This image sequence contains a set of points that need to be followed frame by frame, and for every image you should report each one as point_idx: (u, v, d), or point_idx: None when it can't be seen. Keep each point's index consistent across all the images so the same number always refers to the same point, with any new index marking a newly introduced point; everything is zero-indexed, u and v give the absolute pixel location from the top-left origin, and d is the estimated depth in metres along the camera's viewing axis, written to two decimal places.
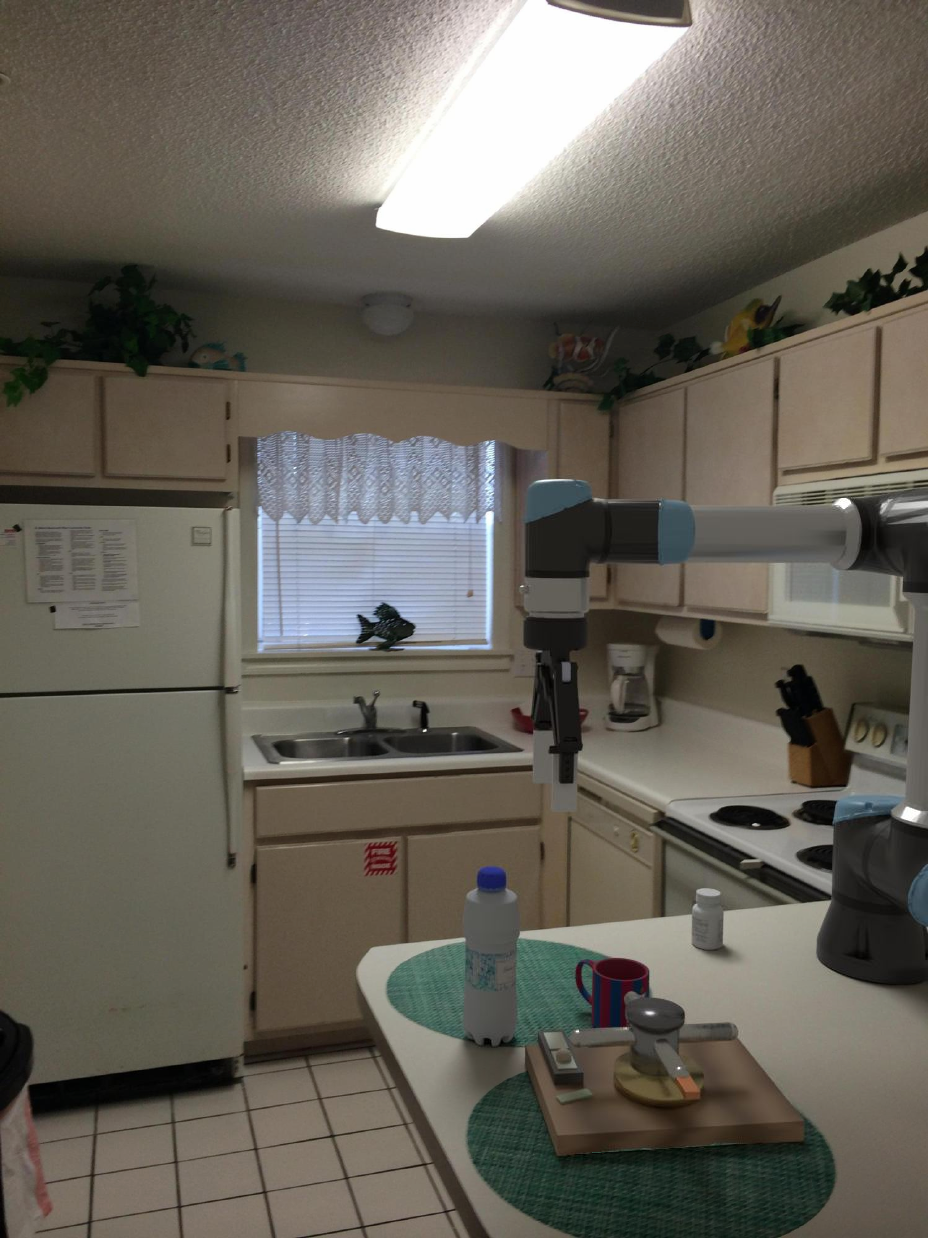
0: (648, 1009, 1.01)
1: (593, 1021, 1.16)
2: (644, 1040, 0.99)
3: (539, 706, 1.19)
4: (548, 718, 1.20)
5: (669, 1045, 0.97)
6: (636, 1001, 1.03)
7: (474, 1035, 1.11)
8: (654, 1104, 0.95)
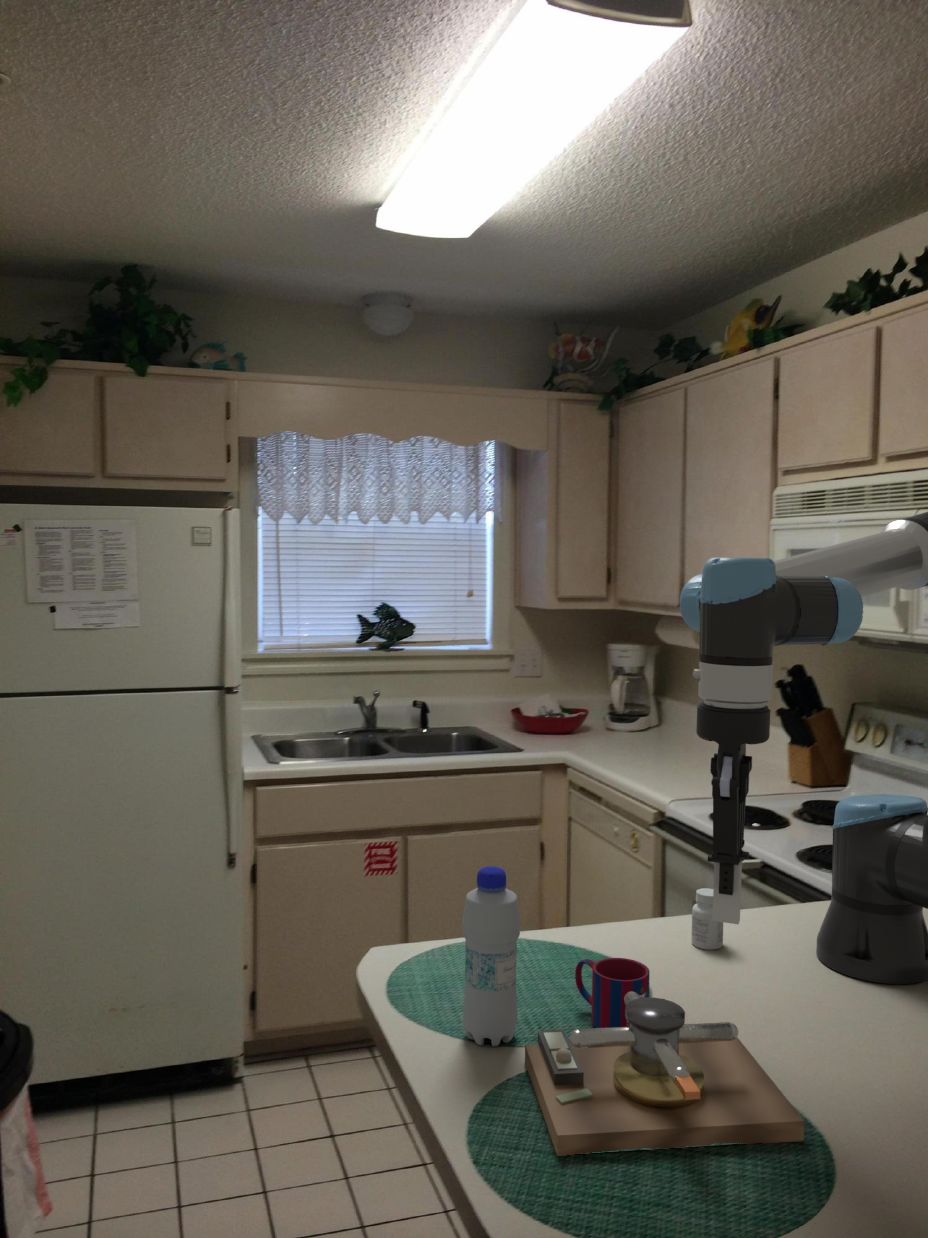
0: (648, 1009, 1.01)
1: (593, 1021, 1.16)
2: (644, 1040, 0.99)
3: None
4: None
5: (669, 1045, 0.97)
6: (636, 1001, 1.03)
7: (474, 1035, 1.11)
8: (654, 1104, 0.95)
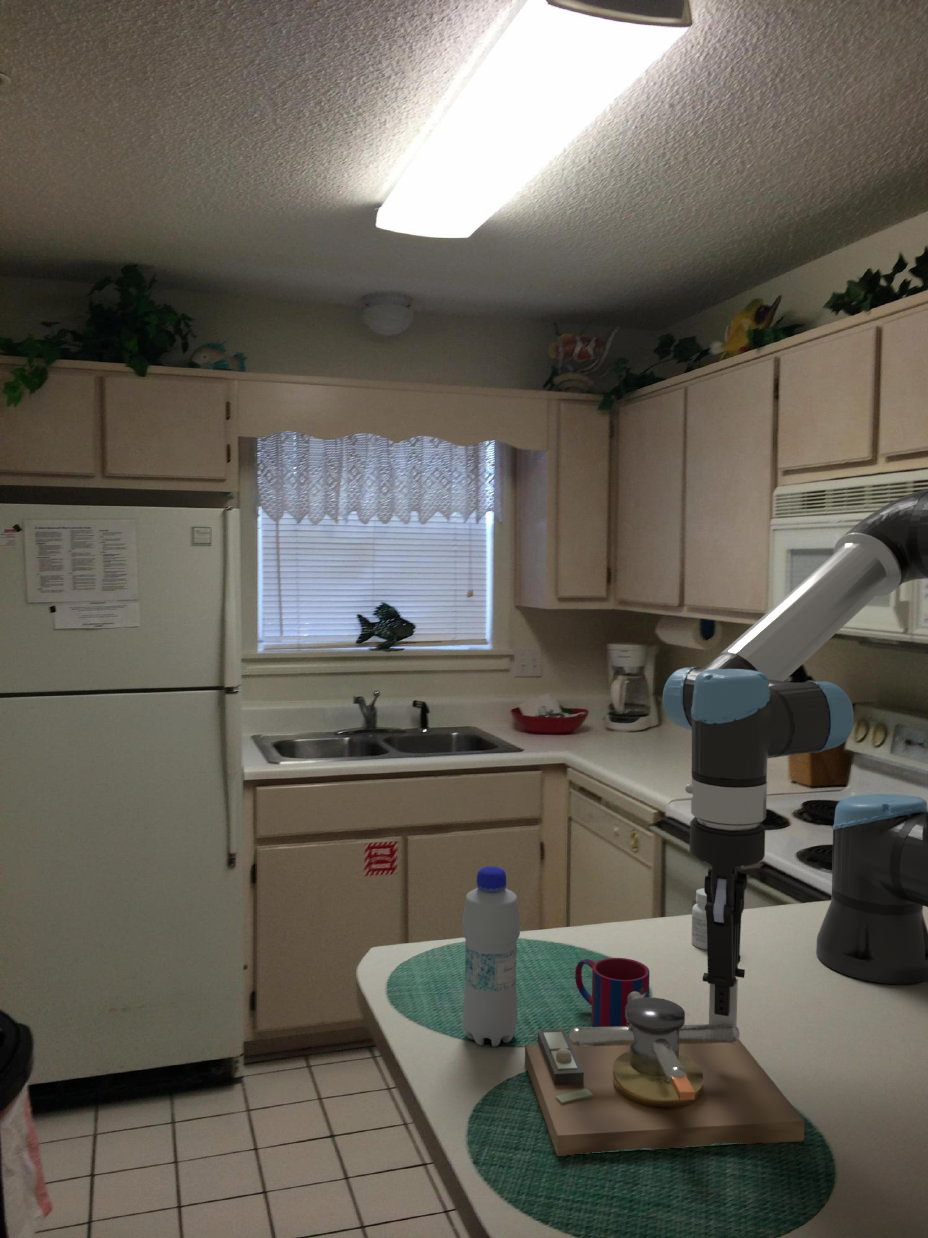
0: (648, 1009, 1.01)
1: (593, 1021, 1.16)
2: (643, 1040, 0.99)
3: None
4: None
5: (667, 1045, 0.97)
6: (637, 1001, 1.03)
7: (474, 1035, 1.11)
8: (651, 1104, 0.95)
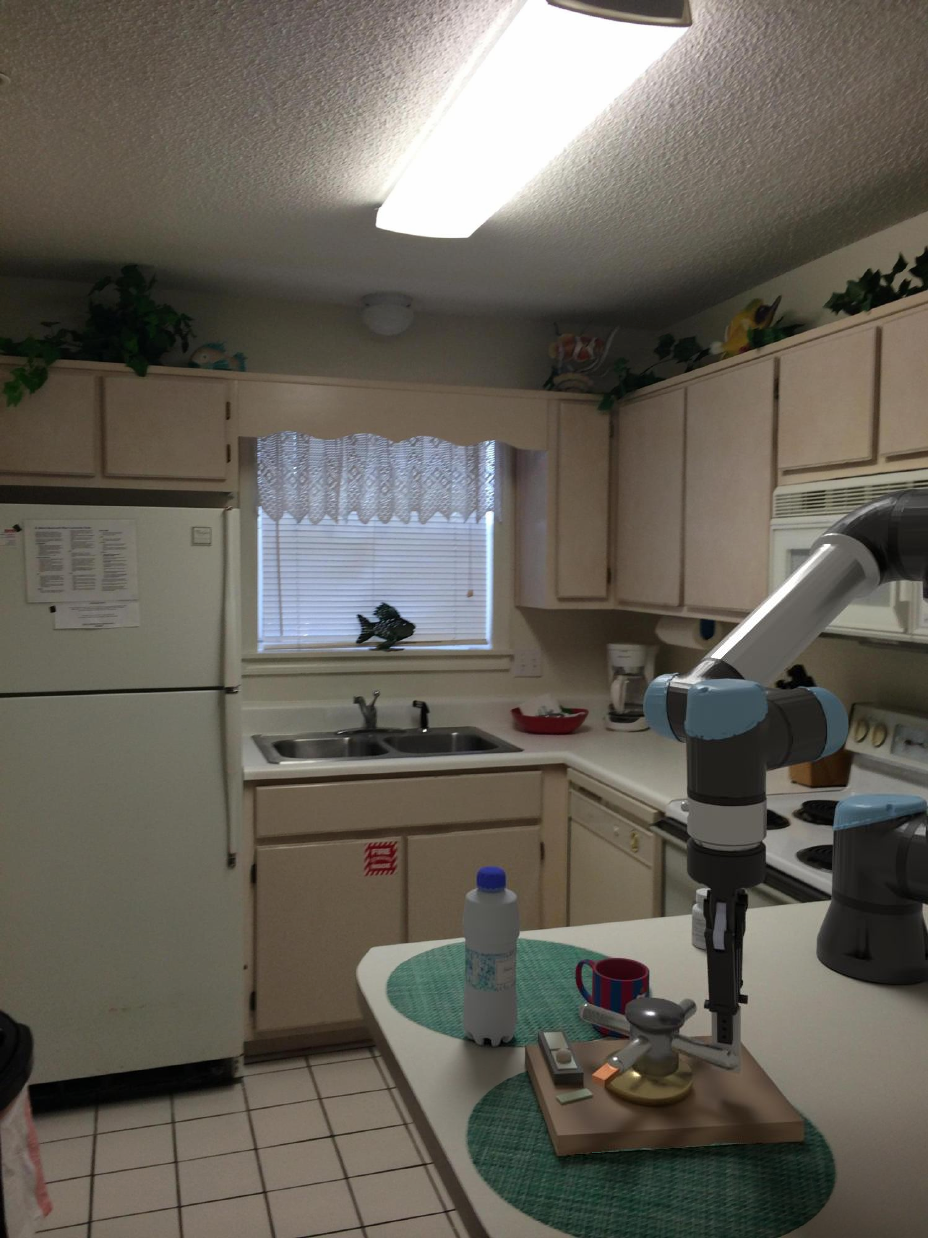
0: (651, 1007, 1.01)
1: None
2: (631, 1033, 1.00)
3: None
4: None
5: (639, 1042, 0.98)
6: (653, 999, 1.03)
7: (474, 1035, 1.11)
8: (611, 1090, 0.98)
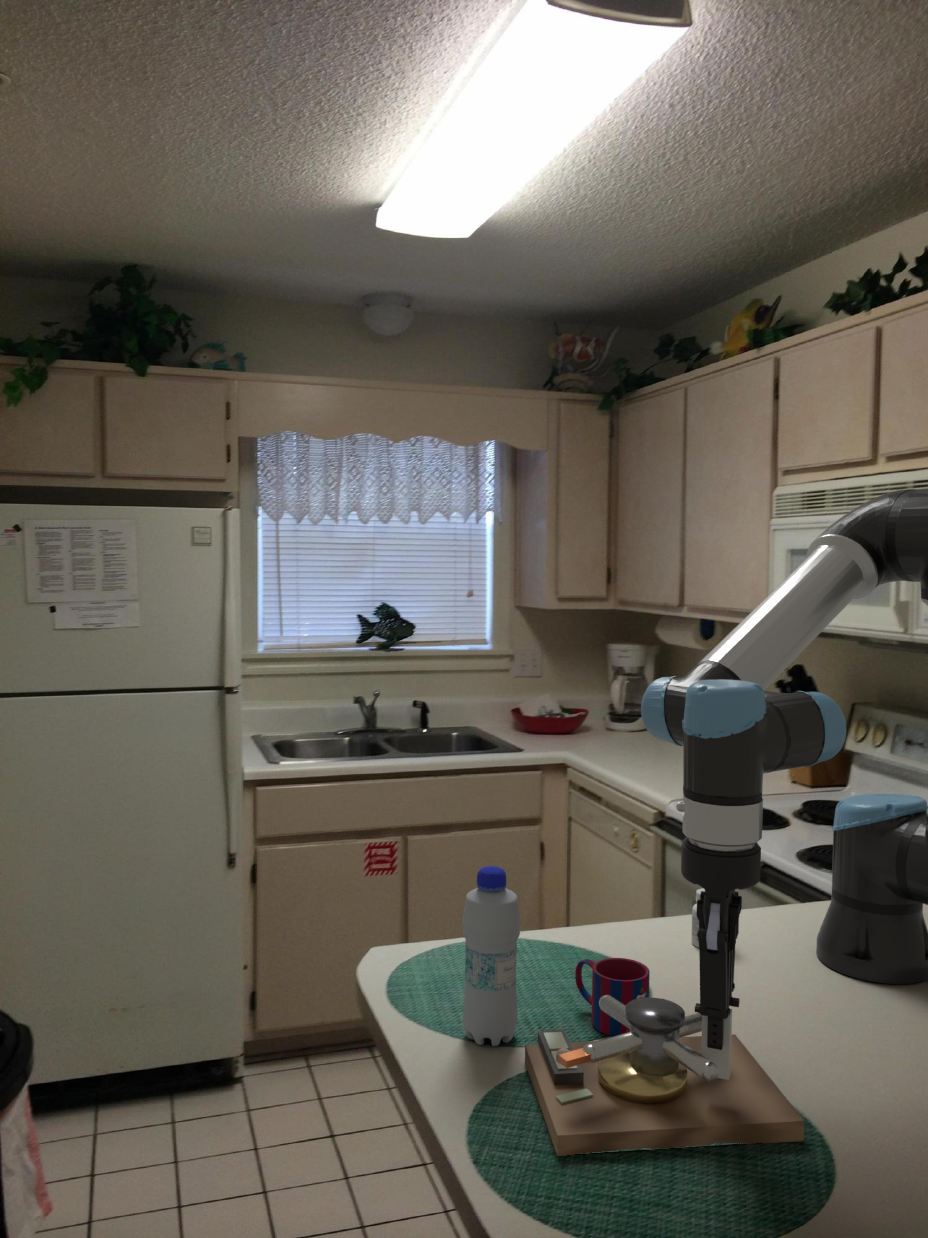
0: (653, 1007, 1.01)
1: (593, 1021, 1.16)
2: None
3: None
4: None
5: (626, 1036, 0.99)
6: (662, 1001, 1.03)
7: (474, 1035, 1.11)
8: (599, 1078, 1.00)
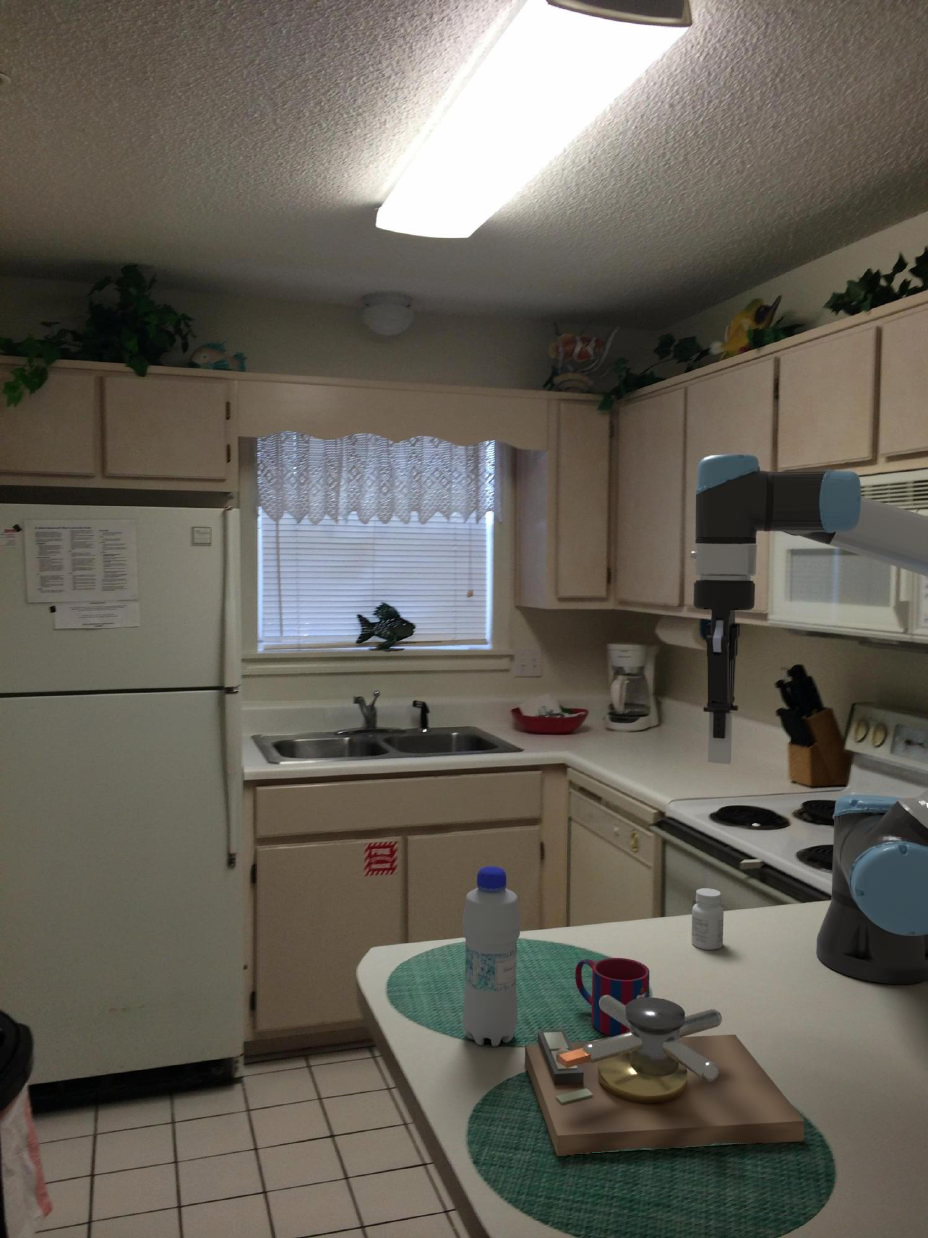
0: (653, 1007, 1.01)
1: (593, 1021, 1.16)
2: None
3: None
4: None
5: (626, 1036, 0.99)
6: (662, 1001, 1.03)
7: (474, 1035, 1.11)
8: (599, 1078, 1.00)
